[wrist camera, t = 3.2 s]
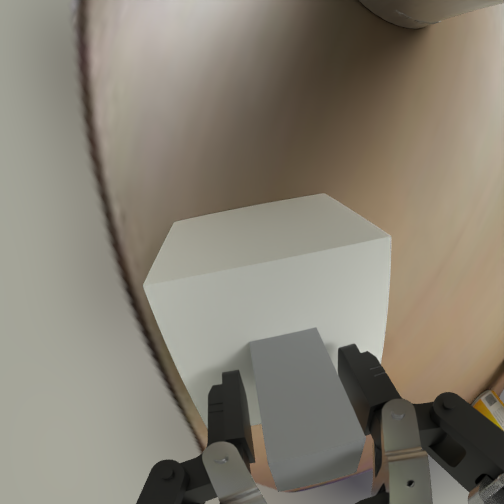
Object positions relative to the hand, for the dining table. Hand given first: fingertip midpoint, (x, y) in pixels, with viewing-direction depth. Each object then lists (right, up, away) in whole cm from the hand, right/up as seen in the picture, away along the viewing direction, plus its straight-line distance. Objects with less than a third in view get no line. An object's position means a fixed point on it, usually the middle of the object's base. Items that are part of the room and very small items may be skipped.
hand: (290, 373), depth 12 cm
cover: (-1, +4, +9) cm, 10 cm away
